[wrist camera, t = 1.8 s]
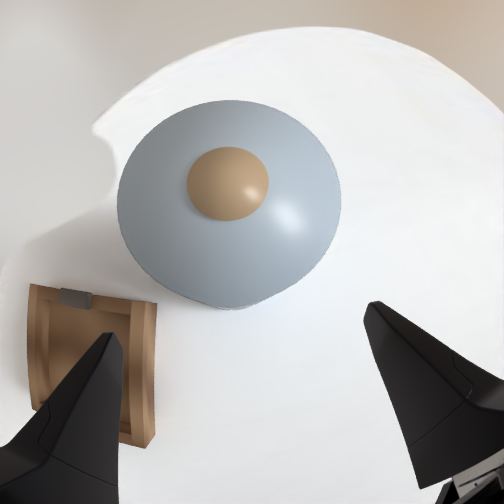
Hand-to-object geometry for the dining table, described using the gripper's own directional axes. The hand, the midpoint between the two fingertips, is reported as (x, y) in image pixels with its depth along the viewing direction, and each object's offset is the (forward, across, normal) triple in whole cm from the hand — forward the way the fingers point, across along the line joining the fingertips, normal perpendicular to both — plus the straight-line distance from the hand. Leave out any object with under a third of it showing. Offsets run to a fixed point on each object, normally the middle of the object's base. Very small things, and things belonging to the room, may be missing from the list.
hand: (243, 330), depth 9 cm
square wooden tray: (+6, +12, +10) cm, 17 cm away
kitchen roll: (+11, 0, +5) cm, 12 cm away
